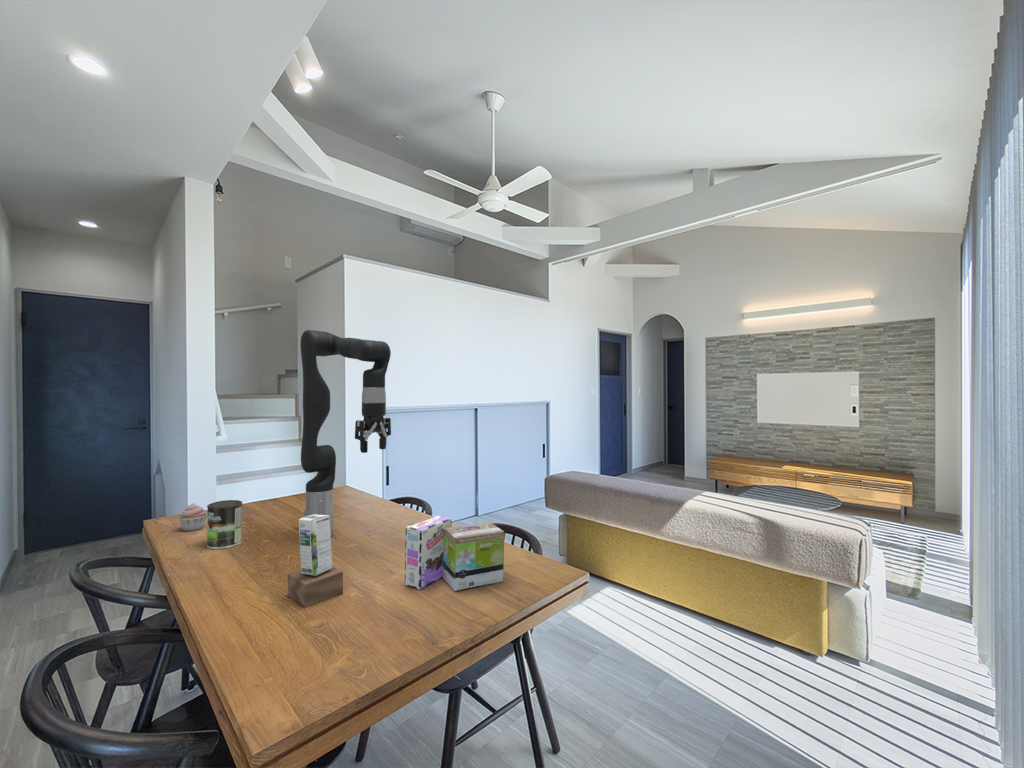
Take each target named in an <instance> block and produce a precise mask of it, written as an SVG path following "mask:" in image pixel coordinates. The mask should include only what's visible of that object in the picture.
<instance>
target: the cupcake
mask: <svg viewBox="0 0 1024 768" xmlns="http://www.w3.org/2000/svg"><path fill="white" fill-rule="evenodd" d="M206 519H208V513H207V511H206V509H204V508H203V507H202V506H200V505H197V504H196V503H195V502H193V503H190V504H189V505H187V506H186V508H185V509H184V510H183V511H181V515H180V517H178V520H179V522H180V525H181V528H182V531H183V532H195V531H199V530H202V529H203V528H204V525H205V522H206Z"/></svg>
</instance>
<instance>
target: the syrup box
mask: <svg viewBox="0 0 1024 768" xmlns="http://www.w3.org/2000/svg"><path fill="white" fill-rule="evenodd" d="M298 534H299V551H300V552H299V553H300V570H301V573H302V574H308V575H314V576H317V575H319V574H321V573H323V572H325V571H327V570H329V569H331V568H332V567H333V556H332V555H333V554H332V536H331V534H330V516H329V515H317V514H315V515H309V516H306V517H304V516H303V517H301V518H299V519H298Z"/></svg>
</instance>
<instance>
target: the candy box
mask: <svg viewBox="0 0 1024 768" xmlns="http://www.w3.org/2000/svg"><path fill="white" fill-rule="evenodd" d="M451 527H452V518H451V517H446V516H441V515H435V516H433V517H430V518H428V519H424V520H423V521H420V522H416V523H414V524H411V525H407V526H405V547H404V548H405V553H404V555H405V556H404V557H405V558H404V585H405V586H407V587H411V588H413V589H417V590H422V589H424V588H426V587H427V586H429V585H431V584H433V583H434V582H437V581H439V580H441V579H443V552H444V529H445V528H451Z"/></svg>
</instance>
